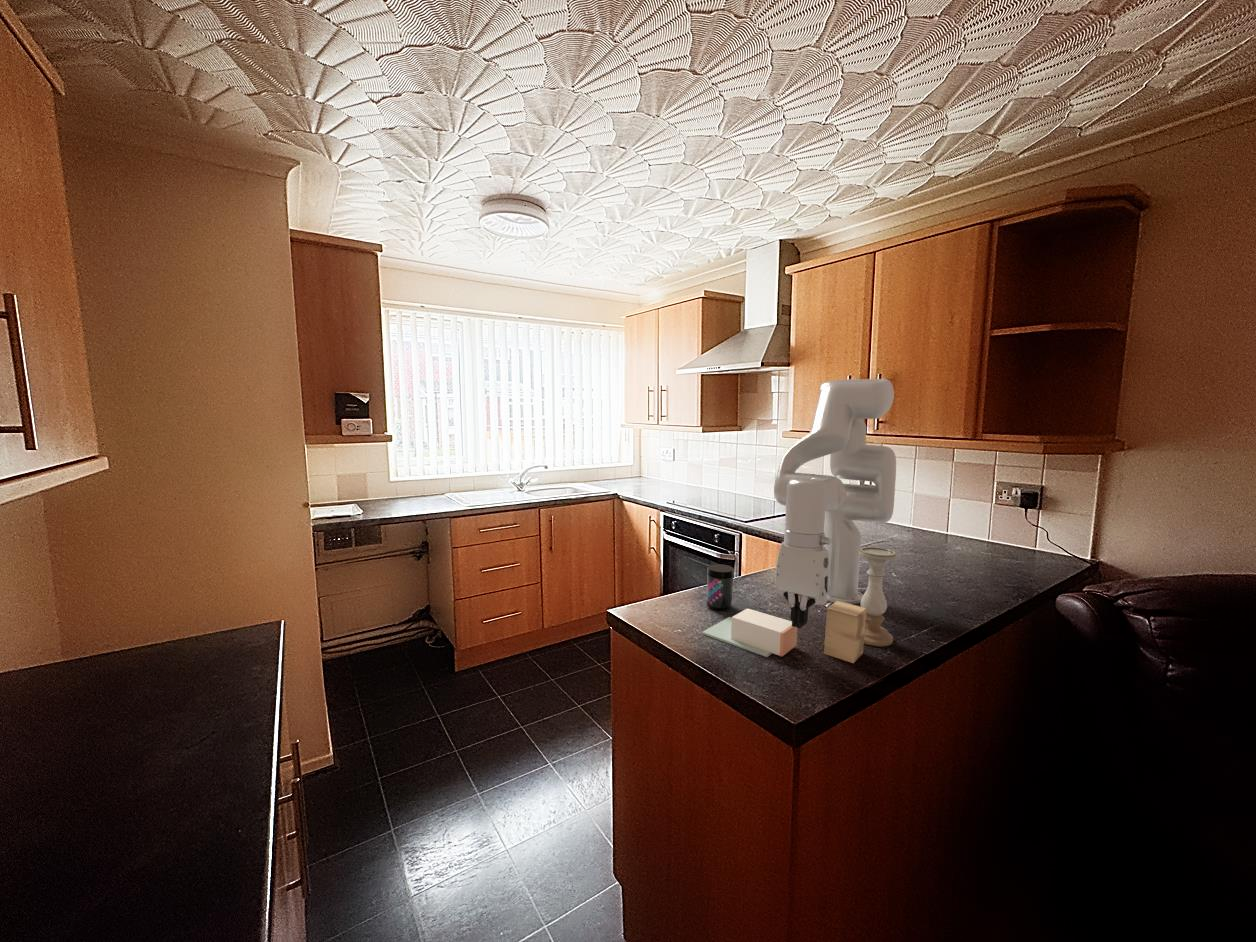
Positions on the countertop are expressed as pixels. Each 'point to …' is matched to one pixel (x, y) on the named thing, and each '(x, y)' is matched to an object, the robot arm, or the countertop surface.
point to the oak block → (845, 631)
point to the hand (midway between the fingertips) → (798, 625)
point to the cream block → (764, 631)
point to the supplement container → (720, 587)
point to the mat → (724, 634)
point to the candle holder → (875, 596)
